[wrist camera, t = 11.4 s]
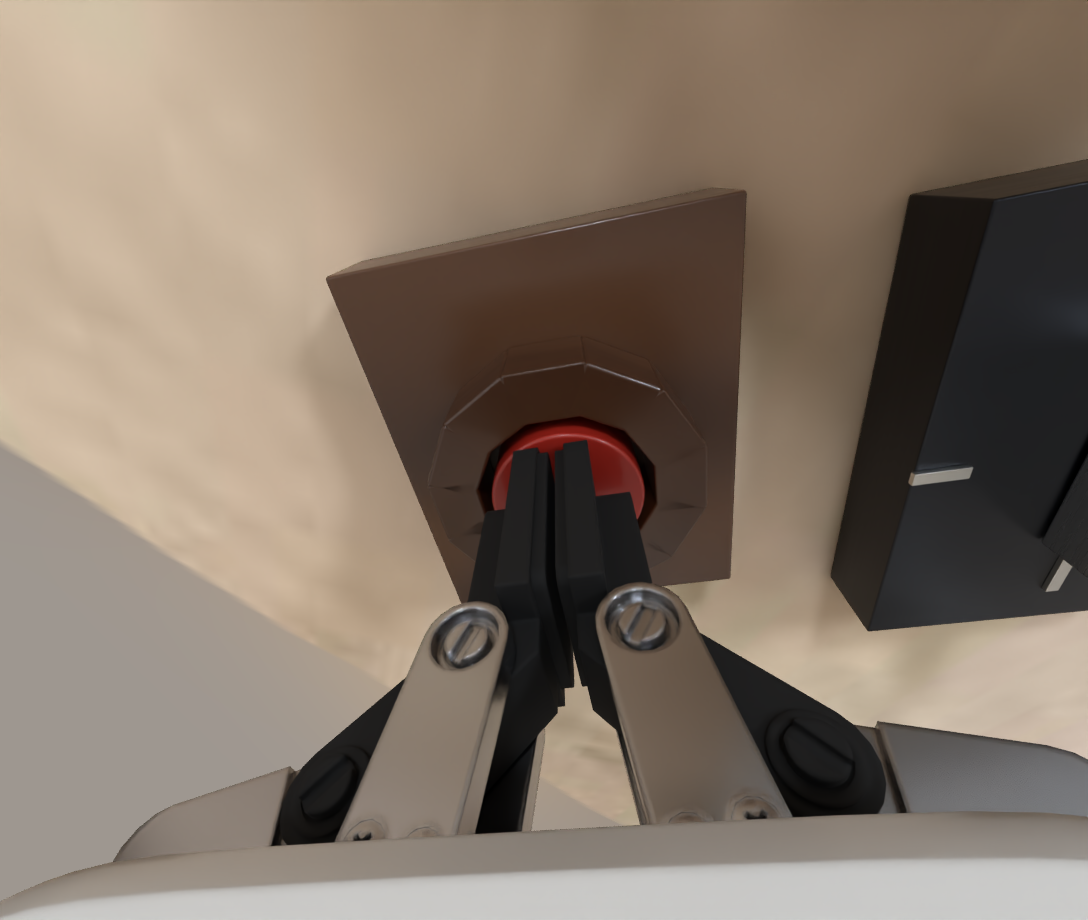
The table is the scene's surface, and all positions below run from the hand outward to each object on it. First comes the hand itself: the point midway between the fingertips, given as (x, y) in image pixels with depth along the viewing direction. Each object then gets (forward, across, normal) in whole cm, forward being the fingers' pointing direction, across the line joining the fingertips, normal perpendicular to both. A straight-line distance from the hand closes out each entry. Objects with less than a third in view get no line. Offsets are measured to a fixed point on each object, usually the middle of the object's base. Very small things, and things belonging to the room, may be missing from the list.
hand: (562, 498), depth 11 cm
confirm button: (+2, 0, 0) cm, 2 cm away
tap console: (+4, -14, +2) cm, 15 cm away
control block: (+4, 0, 0) cm, 4 cm away
